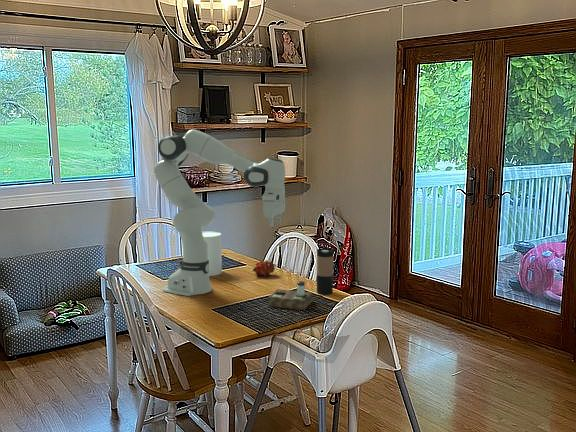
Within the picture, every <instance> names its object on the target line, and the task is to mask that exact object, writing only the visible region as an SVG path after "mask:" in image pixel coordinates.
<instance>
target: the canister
mask: <svg viewBox="0 0 576 432" xmlns="http://www.w3.org/2000/svg"><path fill="white" fill-rule="evenodd" d="M202 235H203V238H204V240H205V241H206V242H207V244H208V260H209V277H212V276H218V275H221V274H222V272H223V271H222V270H223V269H222V267H223V263H222V262H223V261H222V233H221V232H218V231H210V230H209V231H202Z"/></svg>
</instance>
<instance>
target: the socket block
mask: <svg viewBox="0 0 576 432" xmlns="http://www.w3.org/2000/svg"><path fill="white" fill-rule="evenodd" d="M267 298H268V299H267V300H268V301H267V303H268V304H267V305H268V306H267V307H271V308H280V309H281V308H282V309H289V310H290V309H291V310H303V311H305V310H307V308H308V307H309V306H310V304H311V303H312V302H313V292H312V291H311V292H310V291H305V298H303V297H297V290H288V289H278V288H276V290H274V292H273V293H271V294H270V295H269V296H268V297H267Z"/></svg>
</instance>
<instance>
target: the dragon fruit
mask: <svg viewBox="0 0 576 432" xmlns="http://www.w3.org/2000/svg"><path fill="white" fill-rule="evenodd" d="M275 267H276V266H275V264H274V263H273V261H268V260H267V259H265V260H260V261H259V262H257V263H256V264H255V266H254V268H253V269H252V272H254V275H256V276H258V277H262V276H263V277H268V276H270V274H273V273H274V271H275V269H276V268H275Z"/></svg>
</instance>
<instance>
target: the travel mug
mask: <svg viewBox="0 0 576 432" xmlns="http://www.w3.org/2000/svg"><path fill="white" fill-rule="evenodd" d="M334 254H335V253H334V249H332V248H328V247H321V248H317V250H316V293H317V294H318V295H321V296H329V295H332V294H333V290H334V287H333V286H334V258H335V257H334Z"/></svg>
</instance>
